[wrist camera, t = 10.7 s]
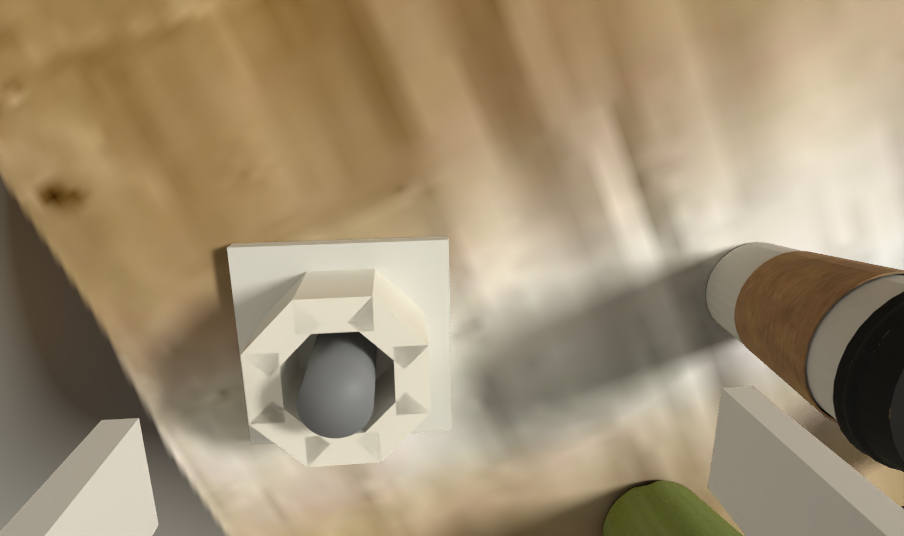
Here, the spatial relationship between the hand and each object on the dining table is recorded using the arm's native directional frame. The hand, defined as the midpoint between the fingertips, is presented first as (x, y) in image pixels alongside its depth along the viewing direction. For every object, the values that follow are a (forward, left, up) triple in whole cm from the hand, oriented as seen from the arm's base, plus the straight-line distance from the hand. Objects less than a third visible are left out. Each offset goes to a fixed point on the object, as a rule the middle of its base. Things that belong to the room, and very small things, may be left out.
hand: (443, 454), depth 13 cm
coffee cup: (+3, +21, -21) cm, 30 cm away
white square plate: (+5, -4, -21) cm, 22 cm away
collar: (+5, -4, -20) cm, 21 cm away
